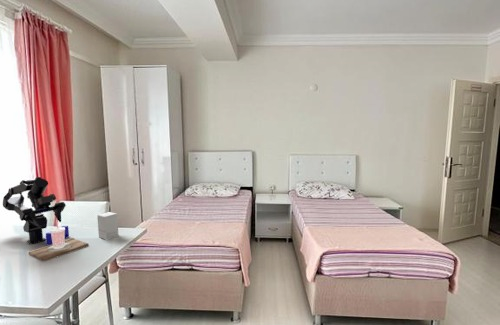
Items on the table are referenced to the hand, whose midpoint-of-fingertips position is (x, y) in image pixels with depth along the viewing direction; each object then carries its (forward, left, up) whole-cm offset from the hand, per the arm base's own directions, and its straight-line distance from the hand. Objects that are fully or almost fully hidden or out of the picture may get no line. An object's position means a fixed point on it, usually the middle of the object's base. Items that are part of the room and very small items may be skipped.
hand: (50, 224), depth 142 cm
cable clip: (-8, +6, -12) cm, 16 cm away
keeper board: (+7, 0, -12) cm, 14 cm away
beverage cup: (+7, 0, -10) cm, 12 cm away
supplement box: (+11, +23, -12) cm, 28 cm away
